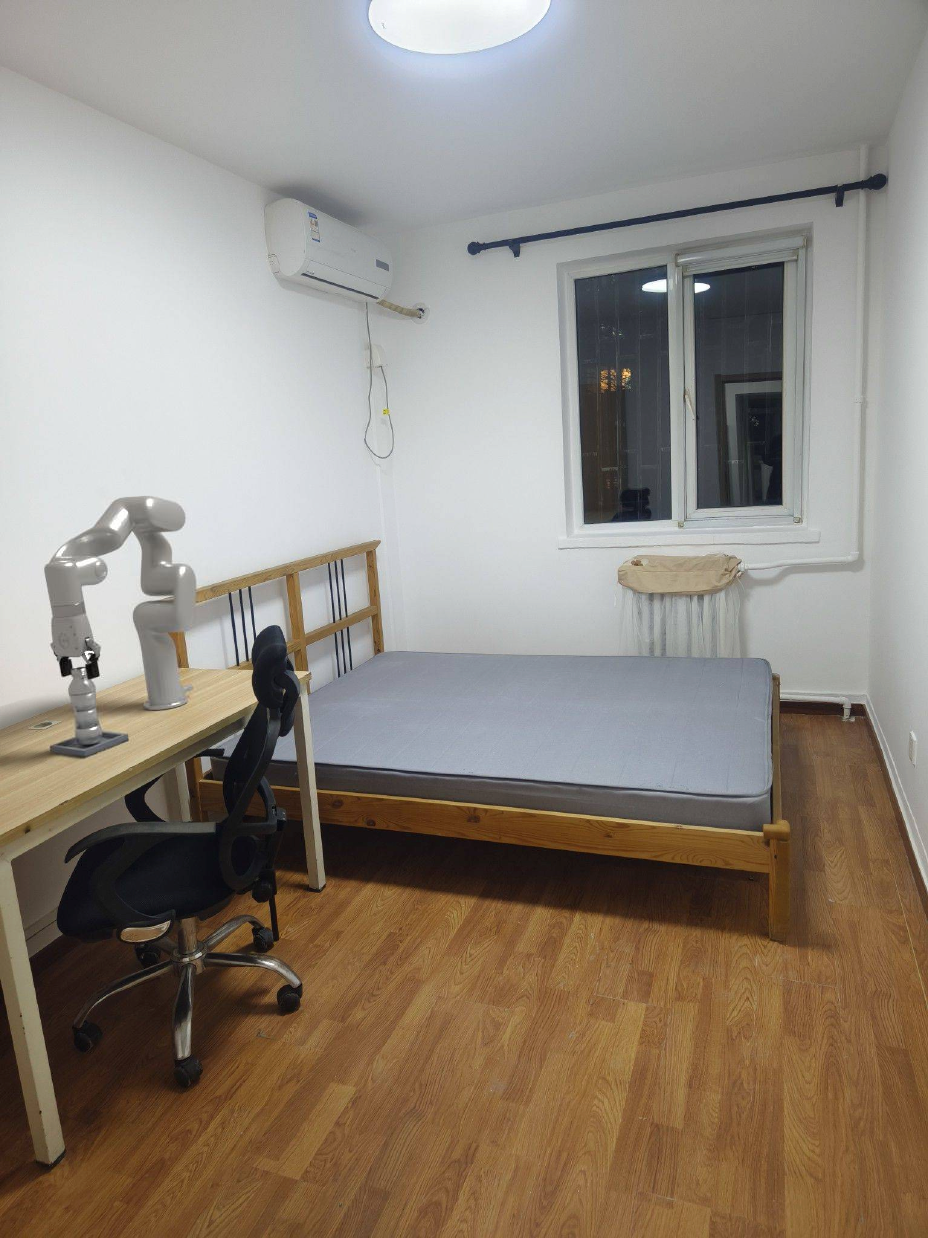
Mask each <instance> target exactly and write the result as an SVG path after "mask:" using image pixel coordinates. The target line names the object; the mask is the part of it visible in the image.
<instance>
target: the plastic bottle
mask: <svg viewBox="0 0 928 1238" xmlns="http://www.w3.org/2000/svg"><path fill="white" fill-rule="evenodd" d="M70 676H71V678H72V679H71V681H70V683H69V685H68V690H67V691H68V692H67V693H68V695H69V696H68V697H69V699H70V701H71V706H72V711H73V715H74V727H75V728H74V737H75V739H76V742H77V743H78V744H79V745H92V744H95V743H98V742H100V741H101V739H102V731H103V730H102V726H101V724H100V721H99V715H98V711H97V700H96V696H97V695H96V693H97V692H96V689H97V688H96V684H95V682H94V681H92V680H93V679H91V680H89V679H88V678H87V673H86V668H85V666H77V667H73V669H71V675H70Z"/></svg>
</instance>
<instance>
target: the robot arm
mask: <svg viewBox="0 0 928 1238" xmlns="http://www.w3.org/2000/svg"><path fill="white" fill-rule="evenodd" d="M186 518H187V517H186V512H185V510H184V508H183V507H182V506H181V505H180V504H179V503H177V502H176V501H172V500H168V499H164V498H160V497H158V496H152V495H141V496H140V495H139V496H125V497H120V498H117V499H115V500H113V501H112V502H111V504H109V506H108V507H107V509H105V511H104V513H102V515H101V516H100V518H99V519H98V520H97V522H96V523H95V524H94V525H93V527H91V528H89V529H87V530H85V531H83V532H81V533H80V534H78V535H76V536H75V537H73V538H71V539H69V540H68V541H66V542H65V543H63V544H62V545H61V546H60V547H59V548H58V549H57V550H56V552H55V553H54V554H53V556H52V557H51V559H50V561H49V562H48V563H47V564H45V565H44V566H43V567H44V568H43V571H44V572H43V573H44V577H45V582H46V588H47V593H48V594H47V595H48V599H49V603H50V604H49V605H50V609H51V615H52V617H51V623H50V624H51V637H52V638H51V639H52V642H51V643H49V644H50V645H49V646H50V647H51V649H52V651H53V655H54V656H55V657H56V661H57V662H58V665H59V670H60V671H59V672H60V676H61V677H62V678H65V677H69V676H71V669H73V668H74V667H73V662H72V658H83V660H84V662H85V665H84V667H85V668H86V673H87V678H88V679H89V680H93V679H96V678H98V677H99V678H100V676H101V674H100V669H99V663H98V662H99V661H100V659H99V658H100V657H101V649H102V647H101V645H100V644H98V643H97V642H96V641H95V639H94V636H93V631H92V627H91V624H90V623H91V622H90V621H89V618H88V615H87V611H86V604H85V600H84V594H83V587H86V586H95V585H99V584H101V583H102V582H104V581H105V579H106V578H107V576H108V571H109V569H108V565H107V564H106V561H104V559H102V558H101V557H100V556H104V555H107V554H110V553H112V552H115V551H117V550H120V548H121V547H122V546H123V545H124V543H125V542H126V540H128V538H129V536H130V535H131V533H133V534H134V536H135V538H136V539H137V540H138V543H139V545H140V549H141V560H140V561H141V563H140V588H141V592H142V593H143V594H144V595H146V596H149V597H173V599H166V600H165V599H161V600H160V599H158V600H148V601H147V600H146V601H143V602H140V603H138V604H137V605H136V606H135V607H134V609H133V611H132V621H133V625H134V627H135V630H136V632H137V637H138V640H139V644H140V645H139V646H140V649H141V656H142V663H143V664H142V665H143V671H144V678H145V685H146V692H147V693H146V694H147V699H148V700H147V701H145V702H144V703H143V708H144V709H145V710H149V711H159V710H161V711H163V710H167V709H174V708H177V707H181V706H183V705H184V704H186V703H188V701H189V697H188V696H187V695H186V693H188V692H190V691H193V690H194V686H193V684H191V683H189V684H186V685H185V686H184V685H181V680H180V671H179V664H178V663H179V662H178V656H177V649H176V644H175V642H174V639H172V637H171V636H170V635H169V633H183V632H184V633H185V632H188V631H189V630H191V629H192V627H193V626H194V623H195V618H196V605H197V604H196V598H197V578H196V573H195V571H194V569H193V568H192V567H191V566H190V565H189V564H186V563H180V562H179V563H173V548H172V546H171V544H170V542H169V541H168V539H167V538H166V537H165V535H163V533H169V532H170V533H172V532H178V531H180V530H181V529H183V527H184V526H185V523H186V520H187V519H186Z"/></svg>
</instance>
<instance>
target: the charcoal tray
mask: <svg viewBox="0 0 928 1238" xmlns="http://www.w3.org/2000/svg"><path fill="white" fill-rule="evenodd" d="M129 740H130V739H129V734H128V733H123V732H122V733H121V732H115V731H107V730H102V739H101V741H100V742H98V743H95V744H92V745H79V744H78V743H77V742H76V739H75V736H73V737H70V738H67V739H65V740H62V741H59V742H57V743H53V744H50V745H49V750H50V753H51V752H53V753H52V754H56V753H57V754H58V755H63V754H64V755H63V756H71V757H77V758H83V757H84V759H87V758H89V757H91V756H93V755H94V756H95V755H97V754H99V753H102V752H104V751H107V750H109V749H111V748H114V747H117V746H120V745H122V744H124V743H126V742H129ZM106 749H107V750H106ZM101 751H102V752H101ZM98 752H99V753H98ZM57 754H56V755H57ZM86 757H87V758H86Z"/></svg>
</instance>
